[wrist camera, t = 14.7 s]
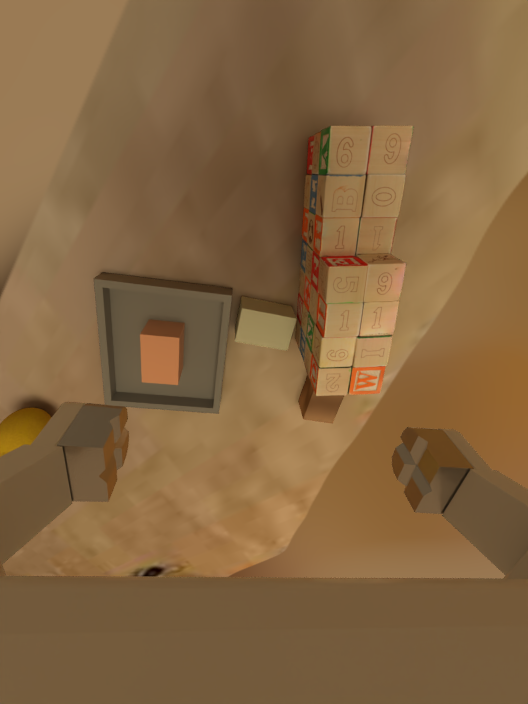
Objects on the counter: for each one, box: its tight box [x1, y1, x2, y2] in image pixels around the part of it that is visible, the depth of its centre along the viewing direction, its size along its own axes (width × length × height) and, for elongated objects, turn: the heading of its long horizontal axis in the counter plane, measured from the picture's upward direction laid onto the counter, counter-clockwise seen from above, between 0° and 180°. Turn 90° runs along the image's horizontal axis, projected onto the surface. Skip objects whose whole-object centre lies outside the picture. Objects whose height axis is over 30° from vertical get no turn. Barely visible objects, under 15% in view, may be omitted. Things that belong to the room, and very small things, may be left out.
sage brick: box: [235, 296, 297, 351], centre depth 38 cm, size 4×6×4 cm, turn 77°
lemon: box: [0, 408, 51, 457], centre depth 40 cm, size 6×6×8 cm
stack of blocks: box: [295, 126, 414, 396], centre depth 31 cm, size 21×6×12 cm, turn 0°
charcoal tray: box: [94, 272, 232, 414], centre depth 39 cm, size 16×14×2 cm
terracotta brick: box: [140, 319, 185, 385], centre depth 38 cm, size 6×4×4 cm, turn 172°
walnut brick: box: [299, 375, 344, 423], centre depth 43 cm, size 6×4×4 cm, turn 167°
